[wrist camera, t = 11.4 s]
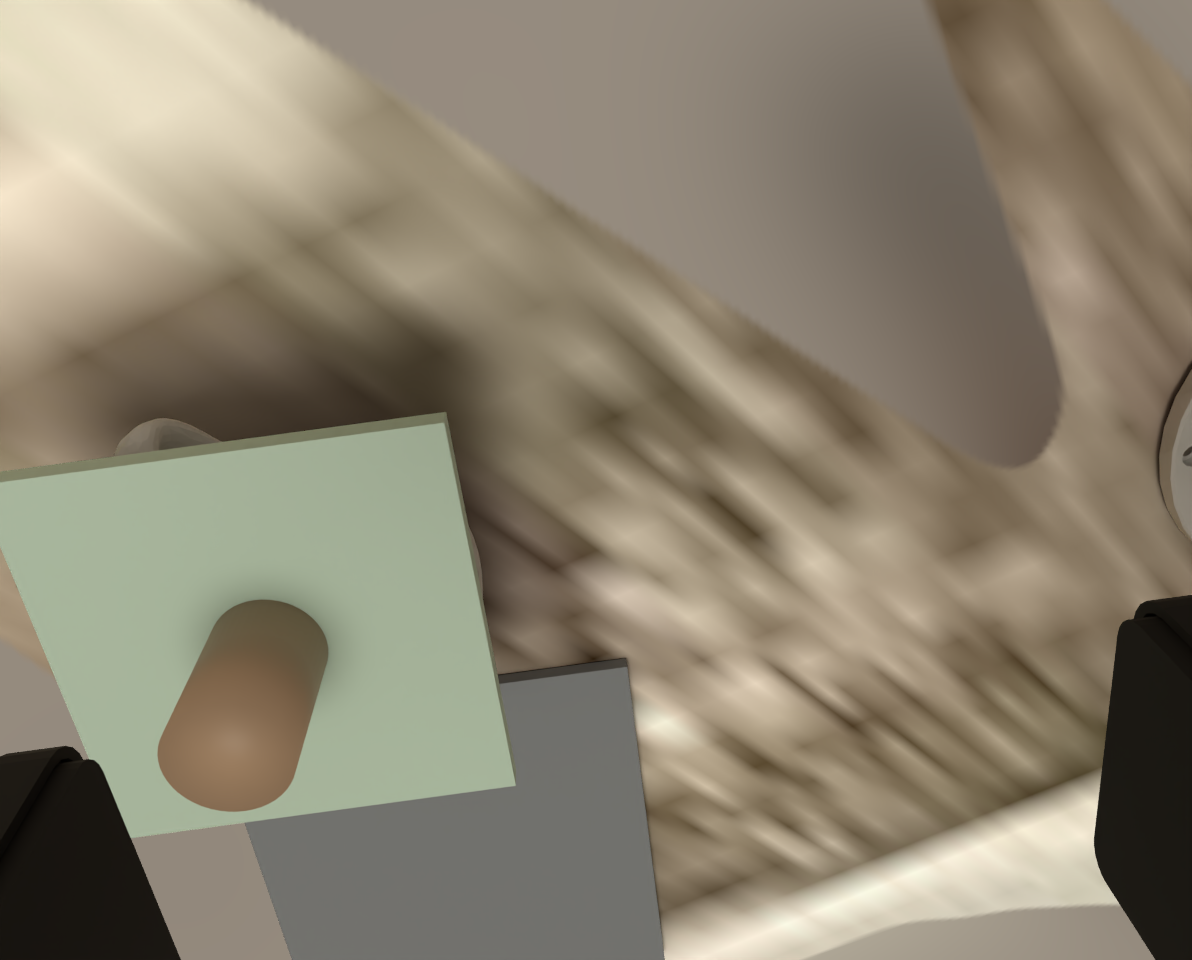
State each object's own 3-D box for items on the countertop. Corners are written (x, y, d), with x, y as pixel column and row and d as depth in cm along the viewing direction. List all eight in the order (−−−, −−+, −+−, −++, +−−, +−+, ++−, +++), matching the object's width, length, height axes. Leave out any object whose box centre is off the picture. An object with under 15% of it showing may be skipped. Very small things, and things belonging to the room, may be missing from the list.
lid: (446, 411, 30) (429, 504, 25) (516, 769, 35) (514, 906, 30) (-12, 473, 30) (-126, 579, 25) (130, 821, 35) (62, 968, 30)
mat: (626, 658, 43) (627, 666, 43) (663, 949, 51) (664, 960, 50) (213, 713, 43) (209, 722, 43) (311, 997, 51) (308, 1008, 50)
